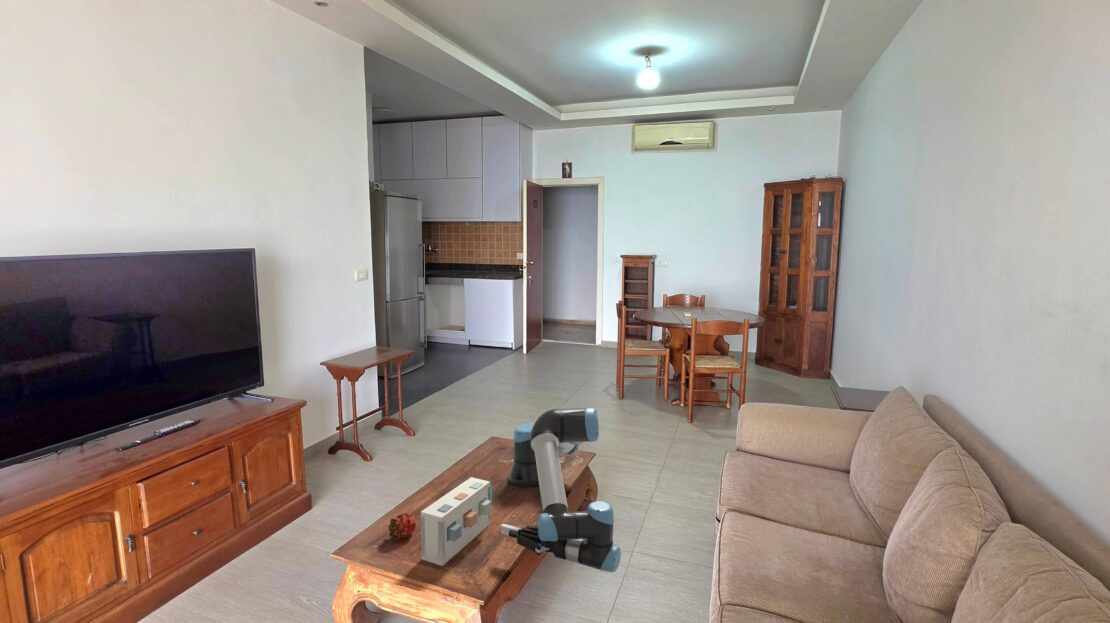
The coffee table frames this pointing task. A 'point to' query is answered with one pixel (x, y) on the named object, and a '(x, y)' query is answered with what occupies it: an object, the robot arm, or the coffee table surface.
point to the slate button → (454, 531)
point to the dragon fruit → (402, 526)
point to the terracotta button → (469, 519)
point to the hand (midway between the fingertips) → (502, 528)
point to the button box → (452, 520)
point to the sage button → (484, 507)
